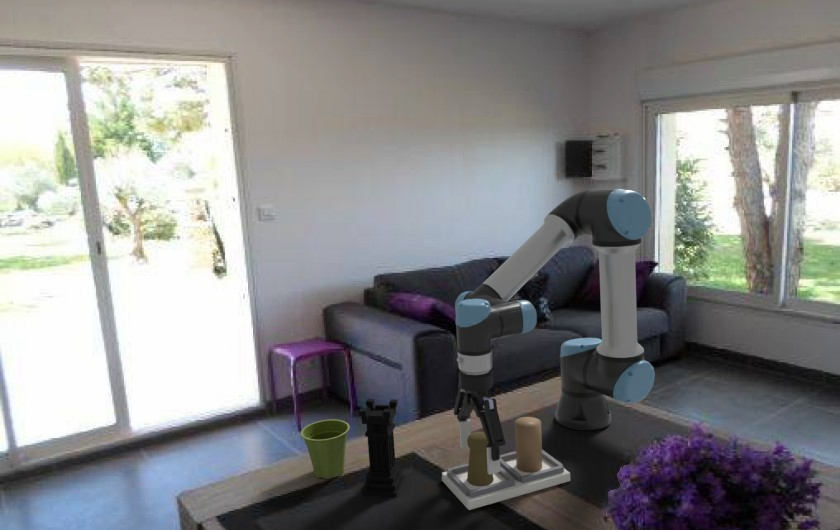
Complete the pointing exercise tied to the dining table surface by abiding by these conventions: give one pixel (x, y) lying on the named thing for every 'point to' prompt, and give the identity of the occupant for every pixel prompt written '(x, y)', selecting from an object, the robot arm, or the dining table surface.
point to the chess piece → (381, 449)
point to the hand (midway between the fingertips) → (479, 459)
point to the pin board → (511, 470)
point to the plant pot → (326, 446)
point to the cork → (478, 460)
